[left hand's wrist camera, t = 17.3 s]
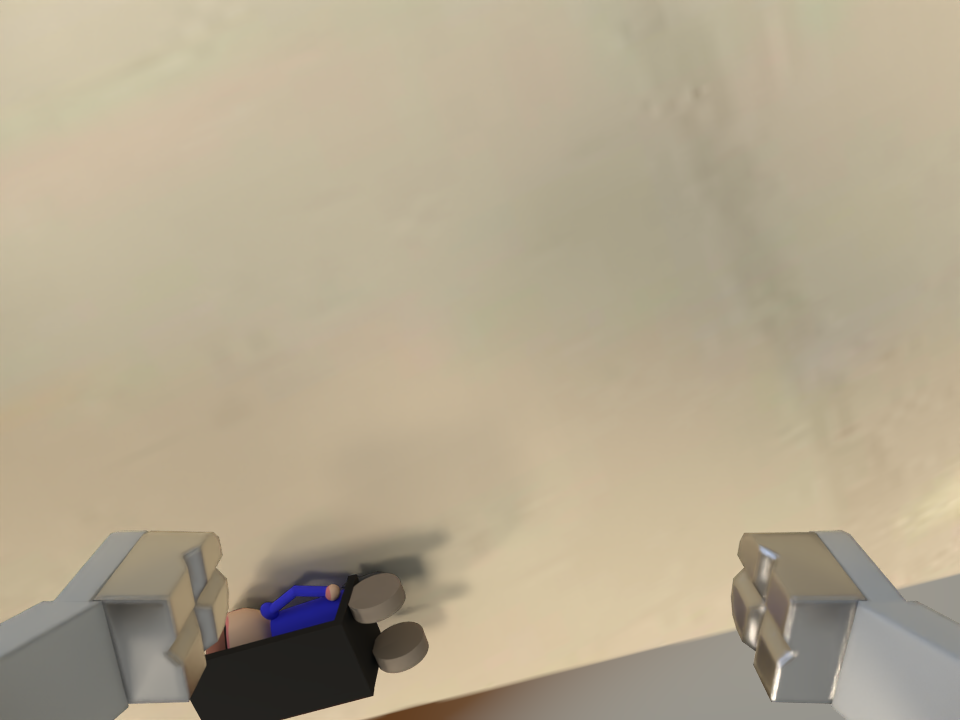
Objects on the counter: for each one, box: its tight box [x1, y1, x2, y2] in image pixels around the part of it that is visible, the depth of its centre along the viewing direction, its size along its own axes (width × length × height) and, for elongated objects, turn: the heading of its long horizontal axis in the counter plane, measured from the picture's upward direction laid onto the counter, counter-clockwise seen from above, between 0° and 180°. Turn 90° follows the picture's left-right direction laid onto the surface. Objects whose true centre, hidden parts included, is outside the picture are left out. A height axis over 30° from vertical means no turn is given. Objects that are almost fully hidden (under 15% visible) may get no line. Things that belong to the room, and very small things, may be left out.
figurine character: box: [190, 571, 429, 720], centre depth 46 cm, size 7×8×15 cm
